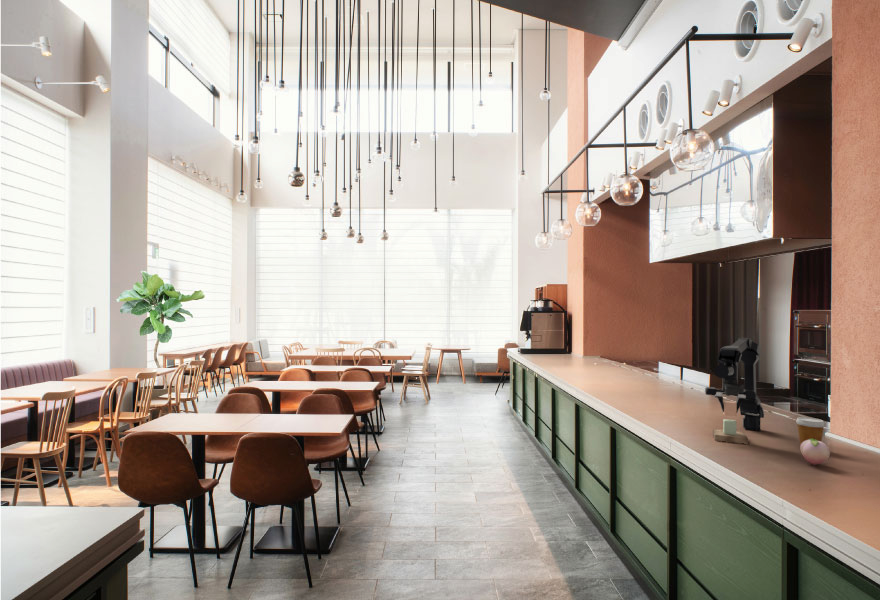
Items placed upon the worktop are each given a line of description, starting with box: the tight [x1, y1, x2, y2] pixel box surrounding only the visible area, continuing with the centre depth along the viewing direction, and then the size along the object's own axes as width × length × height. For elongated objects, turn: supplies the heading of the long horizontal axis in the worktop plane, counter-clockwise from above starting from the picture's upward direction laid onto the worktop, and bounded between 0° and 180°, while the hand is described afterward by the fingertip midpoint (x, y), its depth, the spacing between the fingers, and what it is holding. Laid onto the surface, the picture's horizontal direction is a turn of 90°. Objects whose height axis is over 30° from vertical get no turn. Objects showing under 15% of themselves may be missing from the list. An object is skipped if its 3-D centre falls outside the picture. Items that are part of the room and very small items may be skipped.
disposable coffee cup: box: [795, 416, 826, 447], centre depth 203 cm, size 10×10×12 cm
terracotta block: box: [722, 400, 738, 417], centre depth 217 cm, size 4×4×6 cm
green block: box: [722, 418, 738, 435], centre depth 217 cm, size 4×4×6 cm
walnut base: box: [712, 428, 749, 445], centre depth 217 cm, size 12×12×2 cm
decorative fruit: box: [799, 437, 831, 466], centre depth 182 cm, size 9×8×10 cm
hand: (729, 412), depth 217 cm, fingers closed on terracotta block, 4 cm apart
